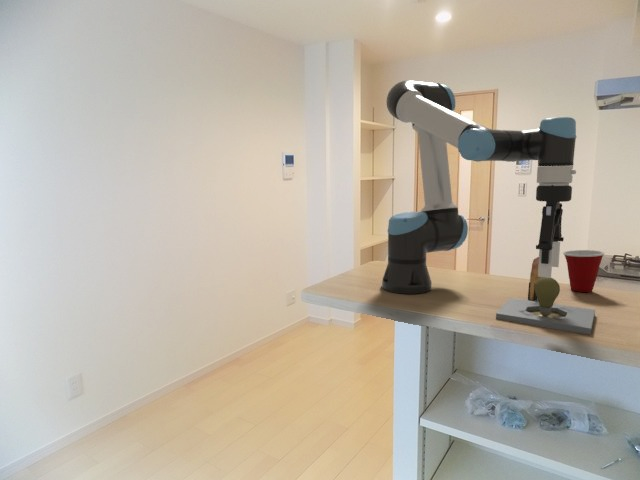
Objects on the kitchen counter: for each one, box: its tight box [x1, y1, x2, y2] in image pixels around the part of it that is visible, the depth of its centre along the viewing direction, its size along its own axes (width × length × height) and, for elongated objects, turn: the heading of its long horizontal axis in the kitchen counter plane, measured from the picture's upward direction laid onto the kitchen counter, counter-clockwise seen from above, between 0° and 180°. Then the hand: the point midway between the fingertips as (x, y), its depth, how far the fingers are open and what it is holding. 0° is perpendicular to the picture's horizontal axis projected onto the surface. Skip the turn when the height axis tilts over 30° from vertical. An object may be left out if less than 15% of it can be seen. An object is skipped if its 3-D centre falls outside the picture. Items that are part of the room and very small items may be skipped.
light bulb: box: [535, 277, 561, 317], centre depth 108 cm, size 6×6×10 cm
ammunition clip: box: [527, 256, 543, 302], centre depth 126 cm, size 11×2×12 cm, turn 139°
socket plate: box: [495, 297, 596, 336], centre depth 109 cm, size 20×16×2 cm
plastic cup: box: [562, 249, 605, 293], centre depth 132 cm, size 11×11×12 cm
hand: (548, 271), depth 107 cm, fingers open, 13 cm apart
